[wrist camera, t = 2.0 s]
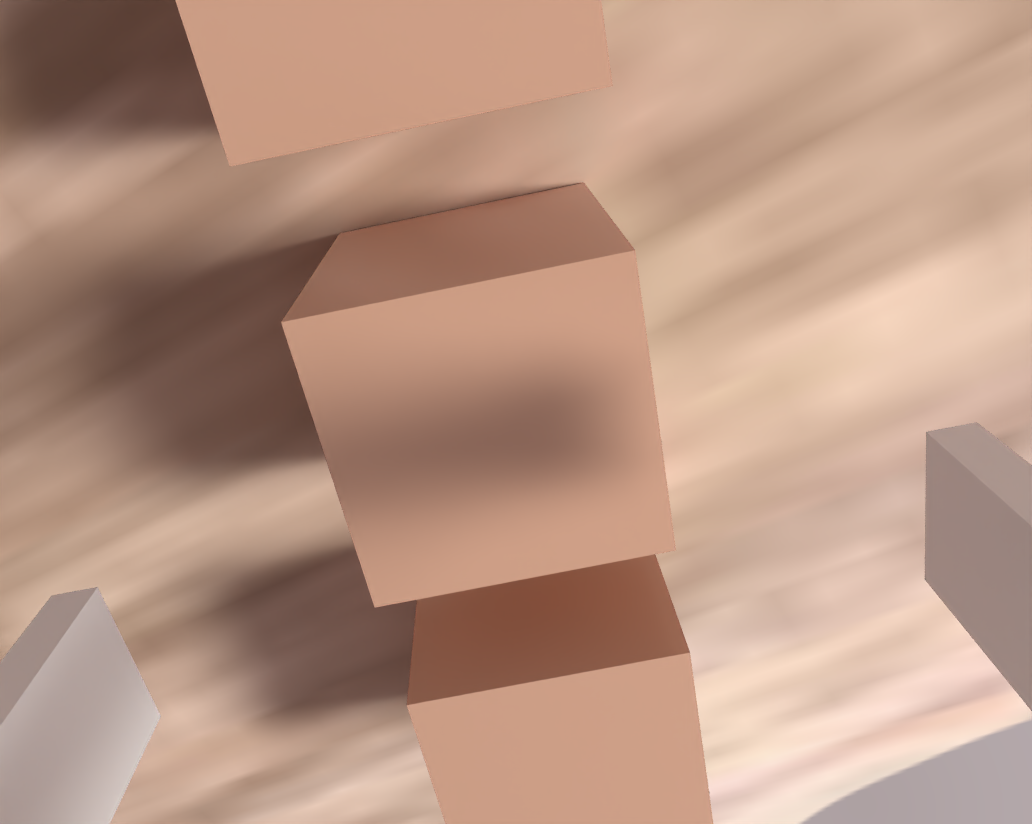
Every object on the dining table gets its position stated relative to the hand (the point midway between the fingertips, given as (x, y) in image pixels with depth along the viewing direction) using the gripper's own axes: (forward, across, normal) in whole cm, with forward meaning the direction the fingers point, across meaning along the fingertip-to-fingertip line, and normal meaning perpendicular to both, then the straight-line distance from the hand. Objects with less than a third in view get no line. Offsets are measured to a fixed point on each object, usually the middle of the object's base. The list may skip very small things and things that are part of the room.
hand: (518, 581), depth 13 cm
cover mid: (+13, 0, 0) cm, 13 cm away
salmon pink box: (+13, 0, -10) cm, 16 cm away
